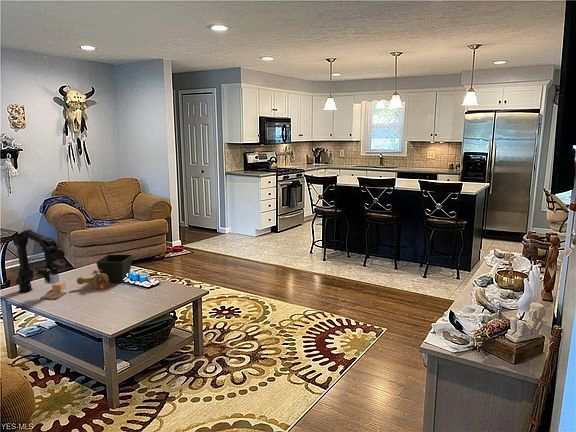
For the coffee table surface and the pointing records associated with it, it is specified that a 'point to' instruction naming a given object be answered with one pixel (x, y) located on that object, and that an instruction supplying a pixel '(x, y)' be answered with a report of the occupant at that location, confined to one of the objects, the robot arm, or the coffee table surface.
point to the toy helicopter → (96, 280)
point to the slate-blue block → (52, 279)
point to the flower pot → (115, 267)
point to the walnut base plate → (53, 295)
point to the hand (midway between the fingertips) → (51, 280)
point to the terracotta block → (59, 286)
